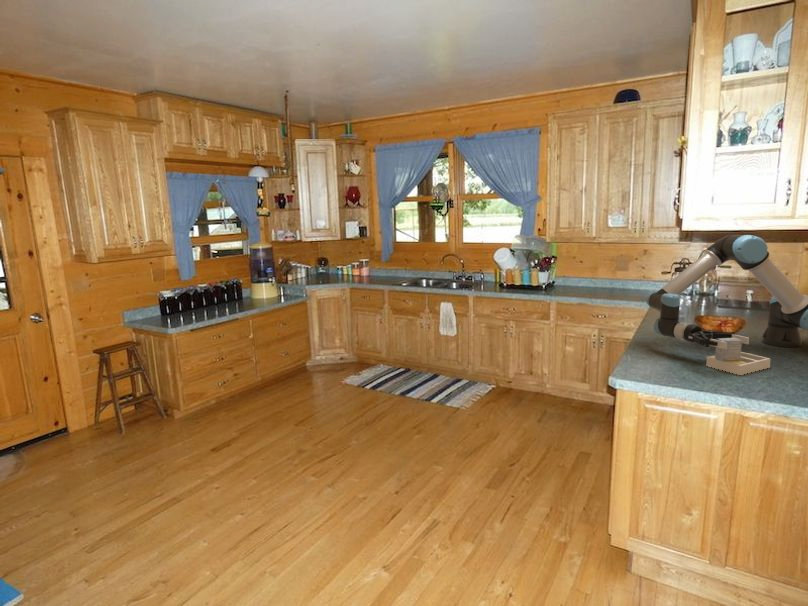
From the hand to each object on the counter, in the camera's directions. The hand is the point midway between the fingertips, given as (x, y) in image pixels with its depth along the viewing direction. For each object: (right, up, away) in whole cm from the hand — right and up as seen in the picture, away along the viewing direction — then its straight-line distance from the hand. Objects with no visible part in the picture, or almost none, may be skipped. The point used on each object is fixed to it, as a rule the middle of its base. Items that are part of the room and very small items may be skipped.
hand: (737, 343), depth 197 cm
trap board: (+5, -10, +8) cm, 14 cm away
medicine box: (-1, -7, +4) cm, 9 cm away
